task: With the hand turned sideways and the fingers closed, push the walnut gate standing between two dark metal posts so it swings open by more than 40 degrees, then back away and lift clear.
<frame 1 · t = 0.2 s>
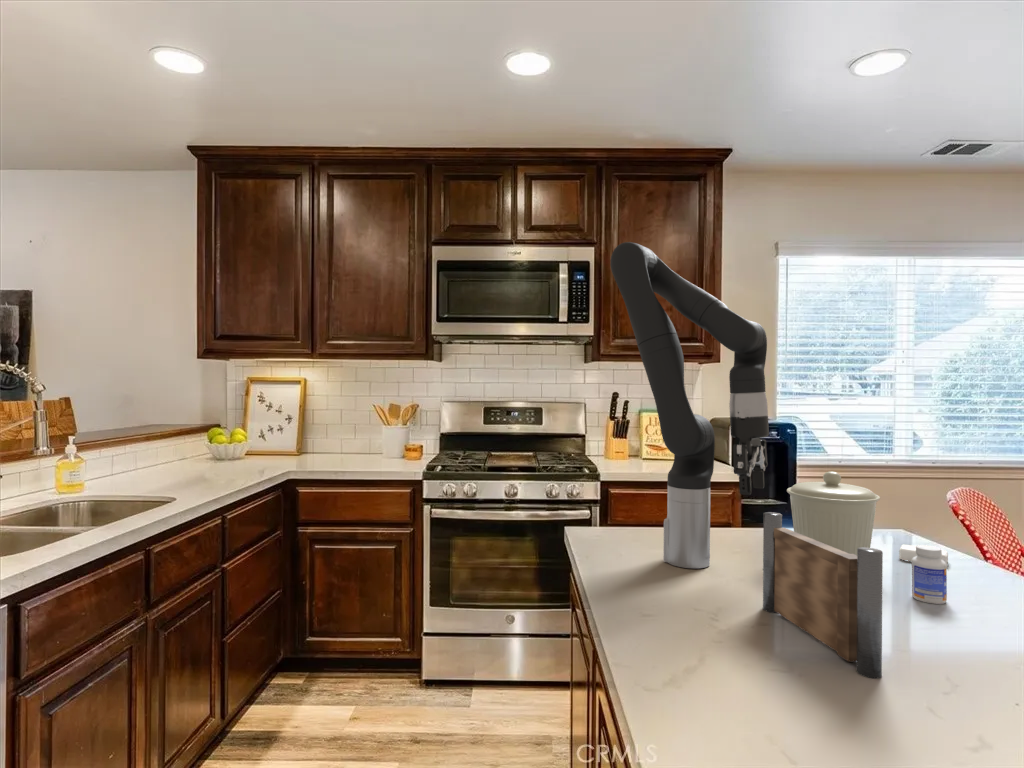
hand: (752, 491, 125), 18 cm above the counter, tool pointing down, fingers open, 8 cm apart
soap: (923, 563, 137), on the counter
canister: (831, 568, 131), on the counter
gate leaf: (813, 587, 94), point 8 cm above the counter, hinge at 0.0°
pill bottle: (928, 600, 112), on the counter
gate posts: (772, 609, 106), on the counter
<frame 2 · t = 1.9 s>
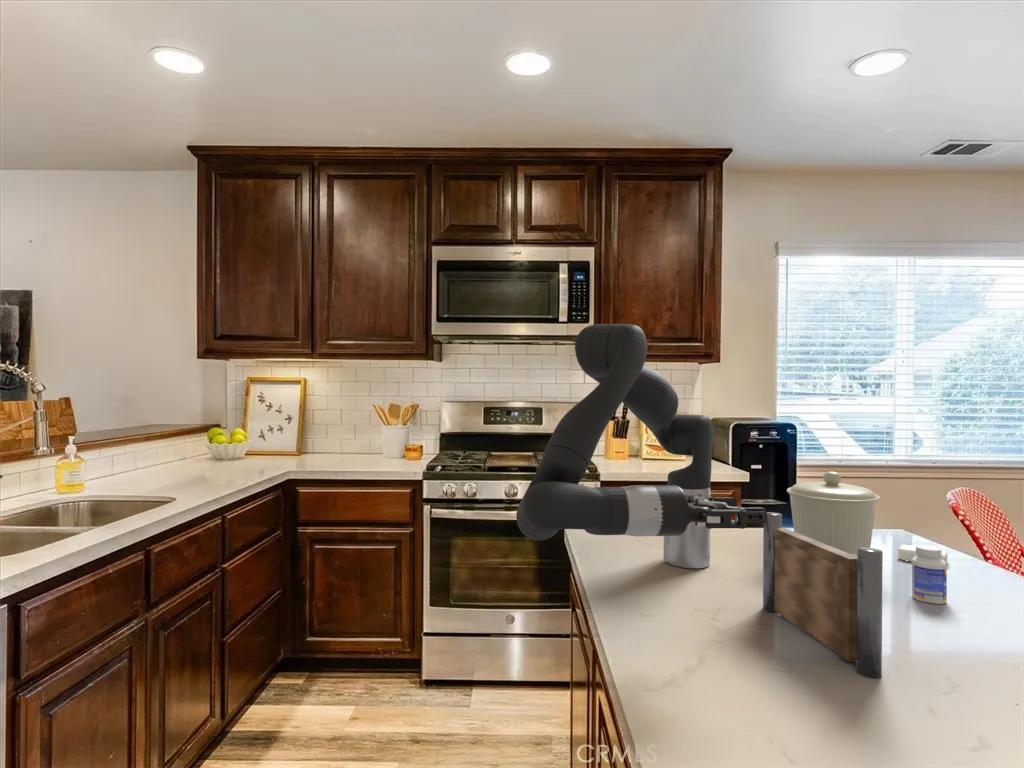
hand: (749, 509, 92), 21 cm above the counter, tool horizontal, fingers open, 8 cm apart
nothing on the counter moved.
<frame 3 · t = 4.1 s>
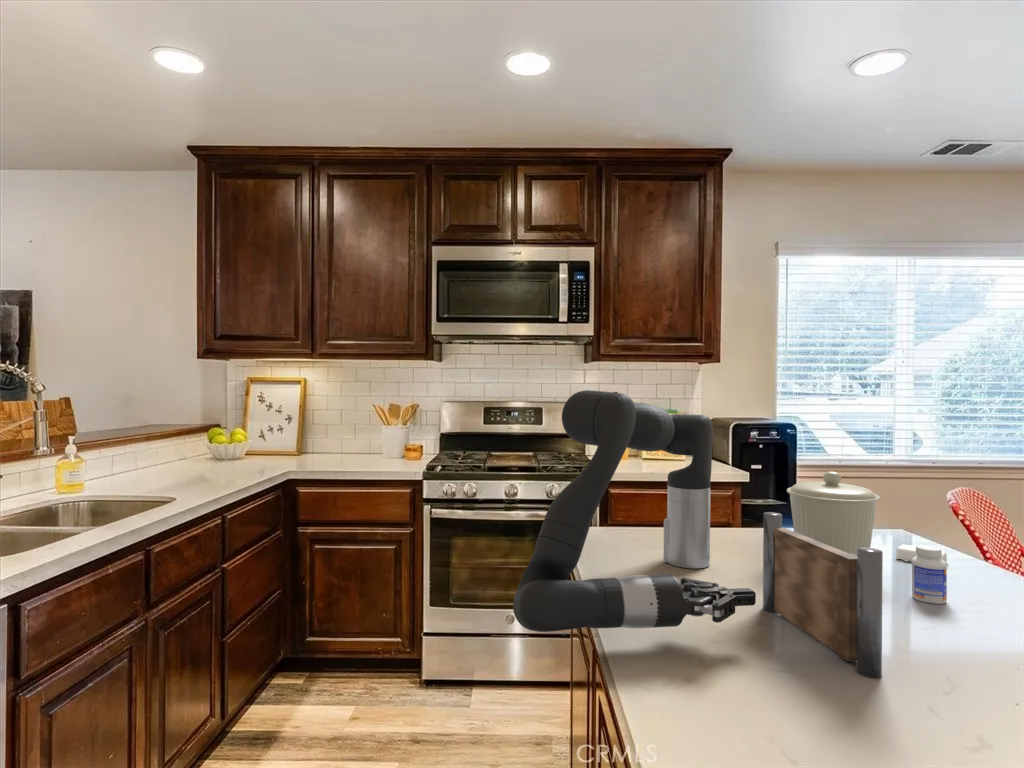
hand: (752, 596, 92), 7 cm above the counter, tool horizontal, fingers closed
nothing on the counter moved.
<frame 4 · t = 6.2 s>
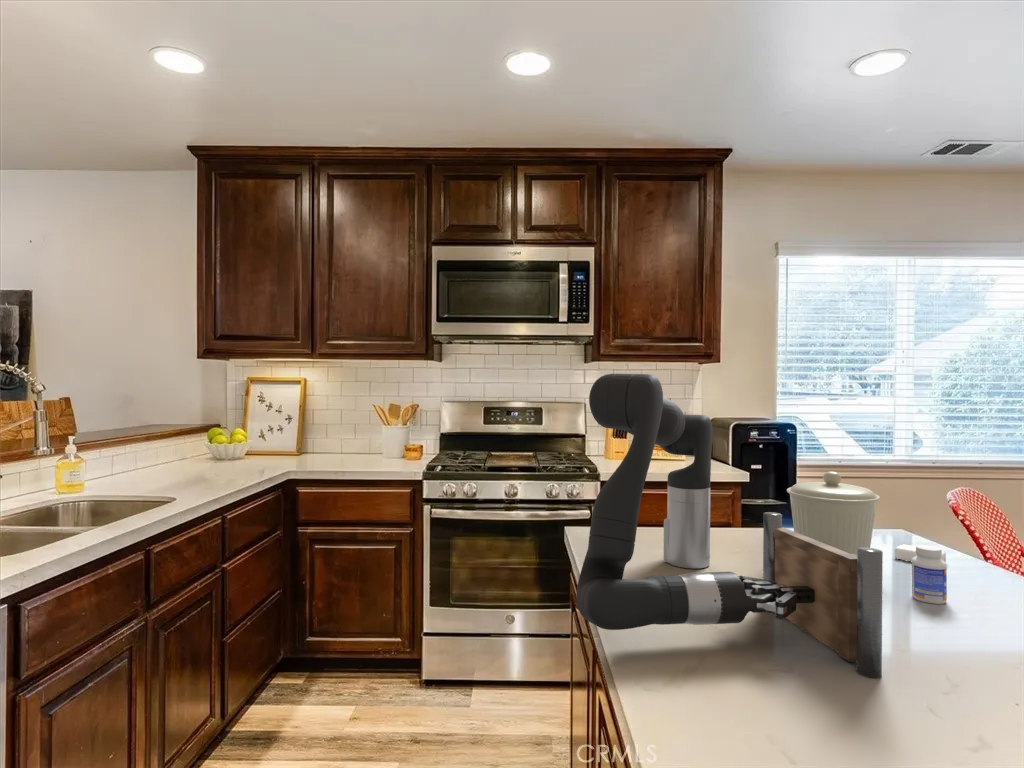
hand: (811, 593, 94), 7 cm above the counter, tool horizontal, fingers closed
gate leaf: (814, 587, 94), point 8 cm above the counter, hinge at 0.3°, touching gripper
everything else where it was.
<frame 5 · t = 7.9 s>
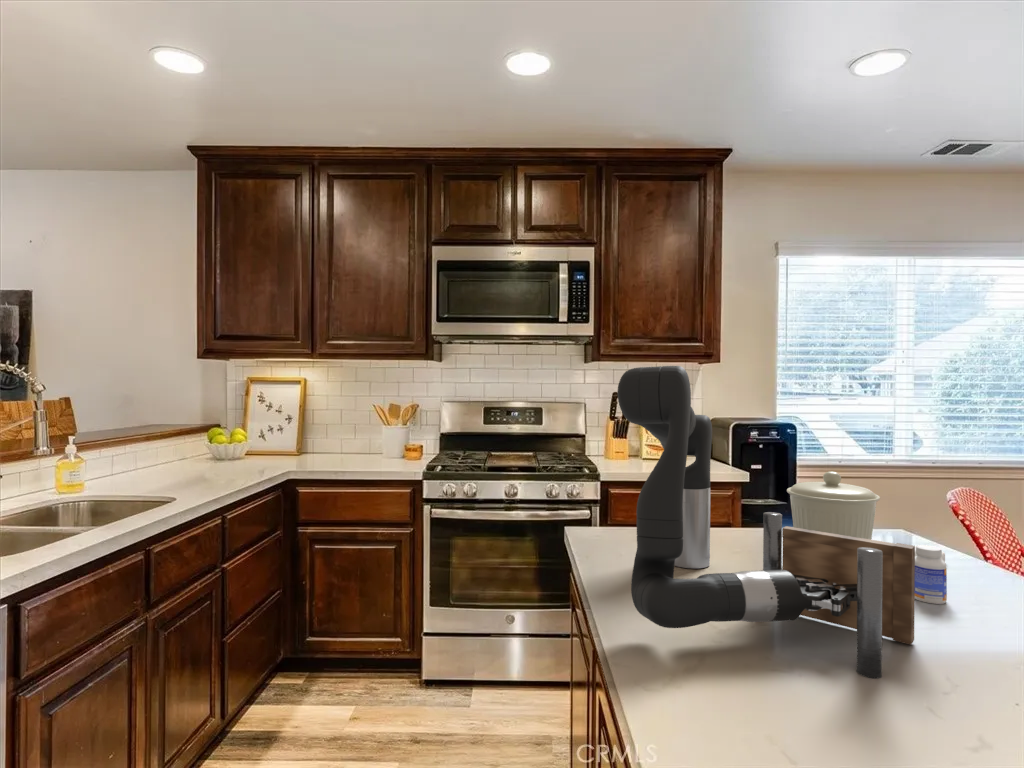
hand: (863, 592, 95), 7 cm above the counter, tool horizontal, fingers closed
gate leaf: (844, 580, 98), point 8 cm above the counter, hinge at 39.1°, touching gripper
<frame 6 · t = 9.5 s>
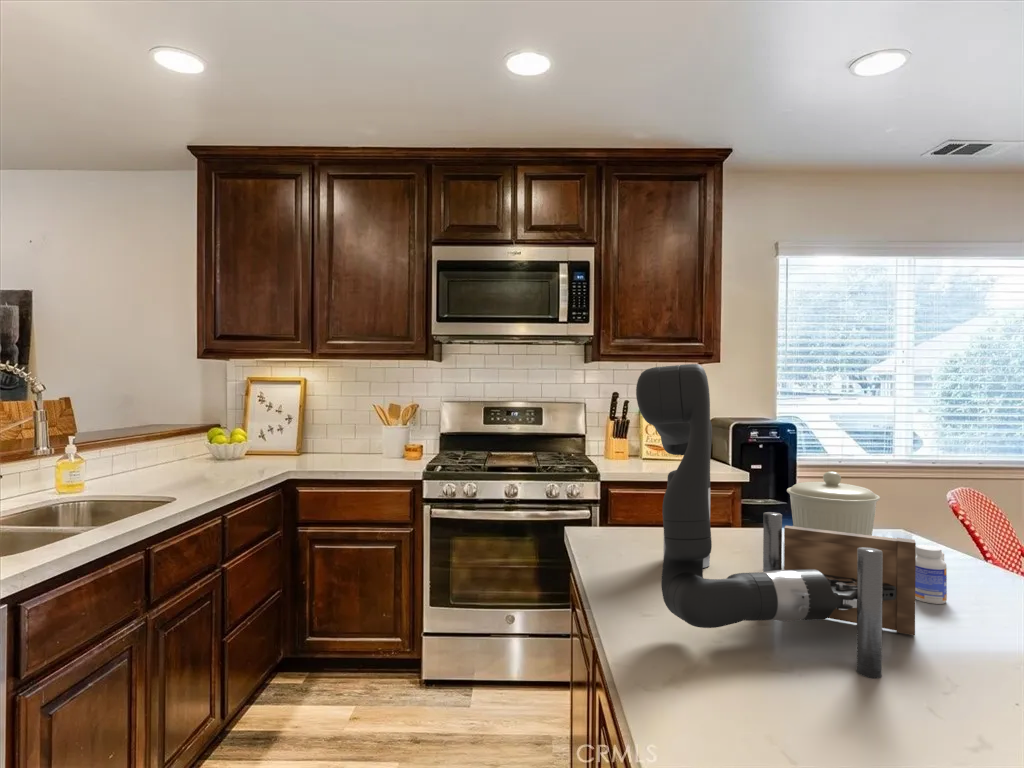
hand: (892, 591, 96), 7 cm above the counter, tool horizontal, fingers closed
gate leaf: (846, 576, 100), point 8 cm above the counter, hinge at 51.3°, touching gripper
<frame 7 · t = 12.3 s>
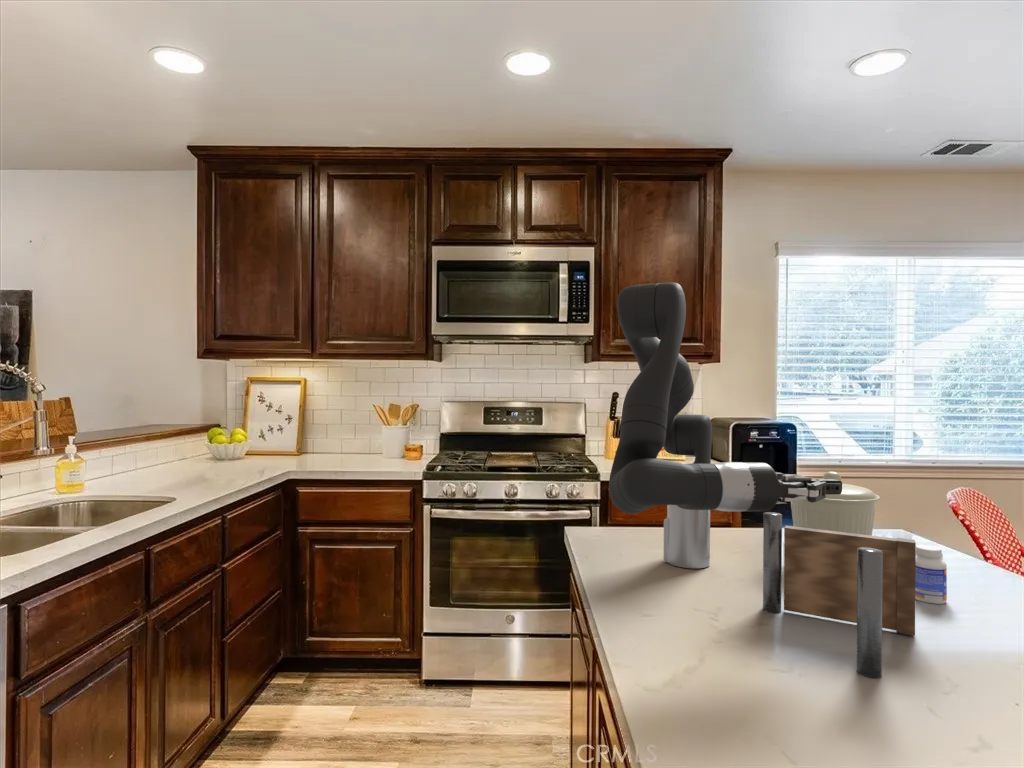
hand: (838, 486, 95), 24 cm above the counter, tool horizontal, fingers closed
gate leaf: (846, 576, 100), point 8 cm above the counter, hinge at 51.4°
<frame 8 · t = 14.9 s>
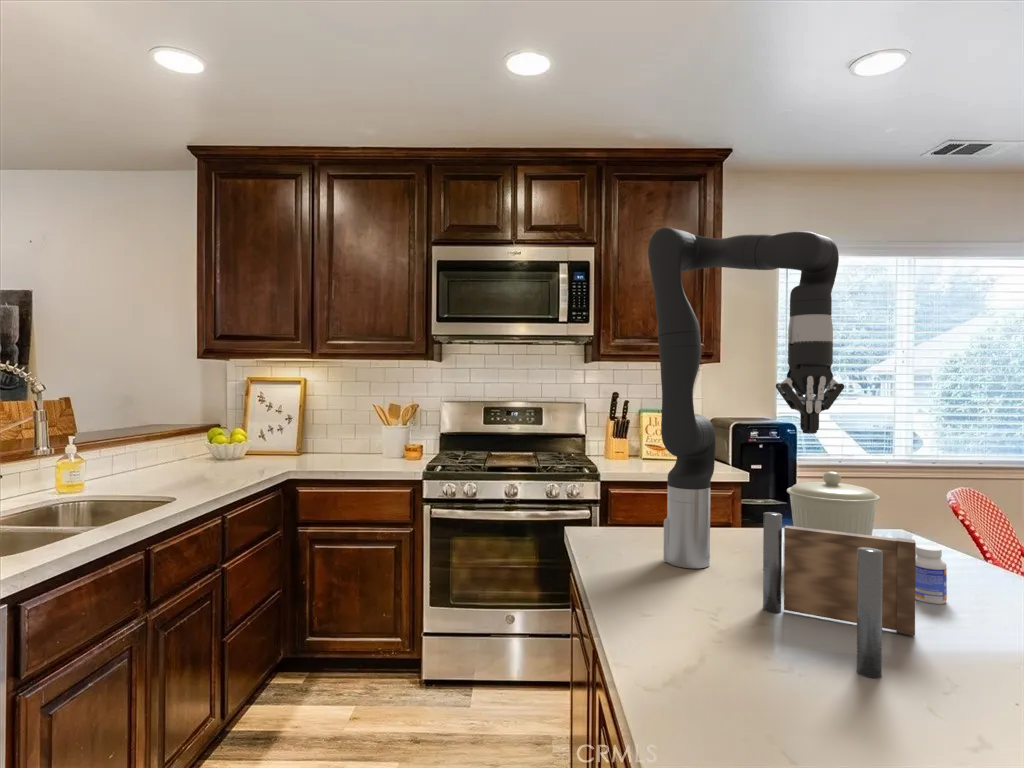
hand: (809, 433, 111), 31 cm above the counter, tool pointing down, fingers closed
at the end: gate leaf at +51° (first picture: +0°); pill bottle moved 0.2 cm from its start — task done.
